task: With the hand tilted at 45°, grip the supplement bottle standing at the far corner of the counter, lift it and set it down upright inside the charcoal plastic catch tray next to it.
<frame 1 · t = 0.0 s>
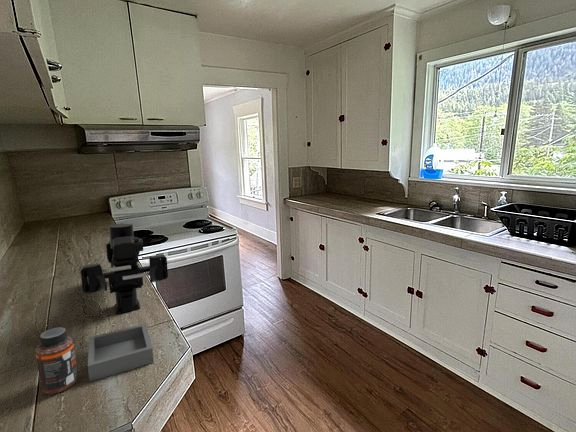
hand: (129, 284, 70), 17 cm above the countertop, tool horizontal, fingers open, 9 cm apart
catch tray: (121, 356, 71), on the countertop
supplement bottle: (60, 385, 62), on the countertop
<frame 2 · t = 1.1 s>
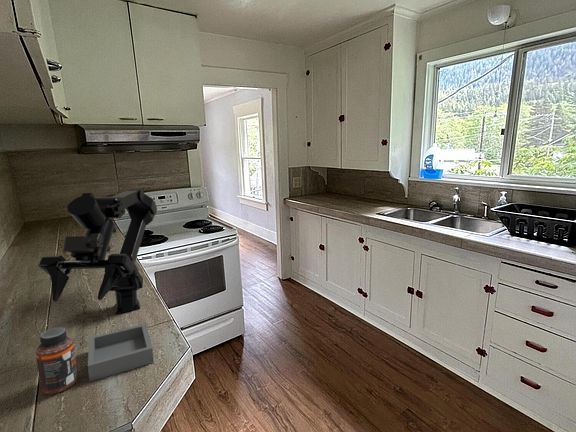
hand: (77, 300, 68), 14 cm above the countertop, tool tilted 45°, fingers open, 9 cm apart
nothing on the countertop moved.
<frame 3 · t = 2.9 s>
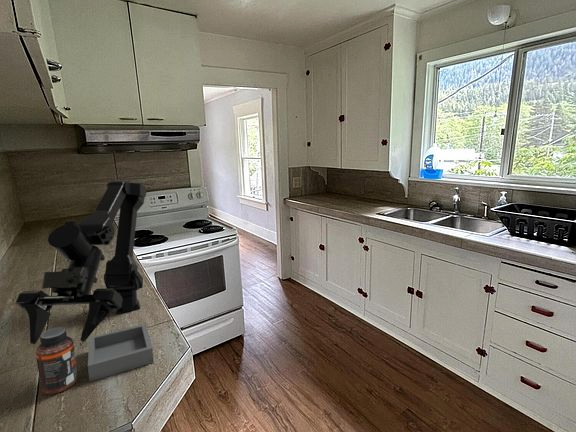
hand: (57, 342, 62), 9 cm above the countertop, tool tilted 45°, fingers open, 9 cm apart
nothing on the countertop moved.
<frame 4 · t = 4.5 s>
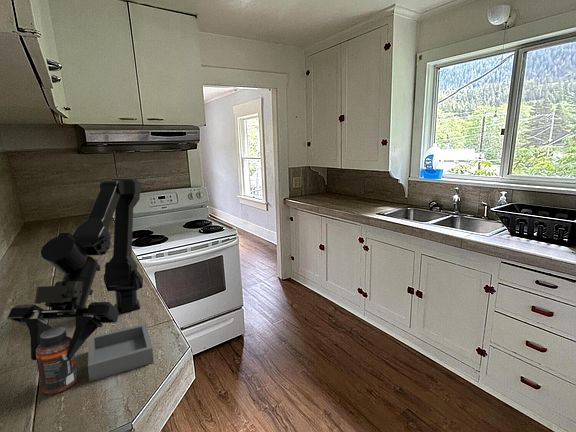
hand: (51, 359, 60), 7 cm above the countertop, tool tilted 45°, fingers closed on supplement bottle, 6 cm apart
supplement bottle: (60, 385, 62), on the countertop, touching gripper
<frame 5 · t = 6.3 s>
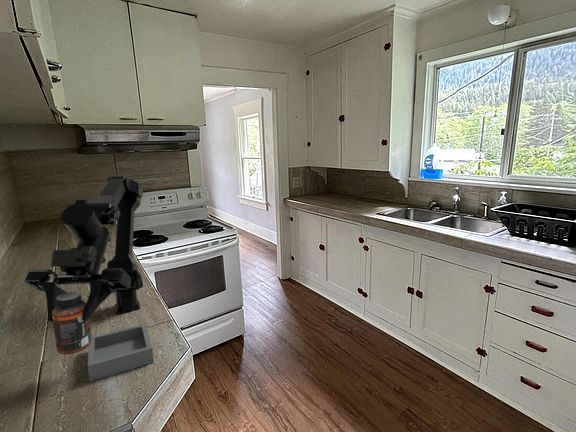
hand: (67, 320, 61), 13 cm above the countertop, tool tilted 45°, fingers closed on supplement bottle, 6 cm apart
supplement bottle: (75, 347, 64), point 6 cm above the countertop, touching gripper
when the fingers open (9 cm above the countertop, at t = 8.4 s): supplement bottle drops 1 cm, resting on catch tray.
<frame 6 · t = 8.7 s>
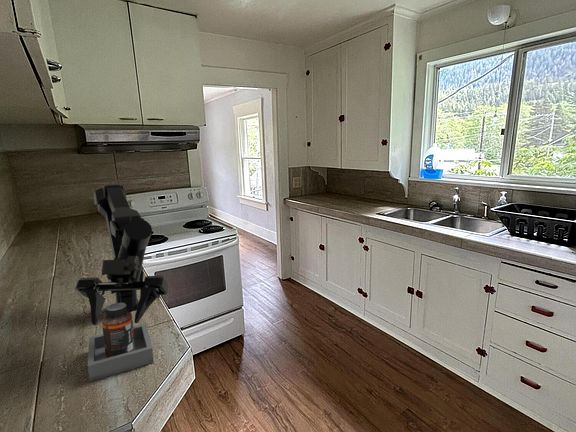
hand: (115, 323, 68), 9 cm above the countertop, tool tilted 45°, fingers open, 8 cm apart
supplement bottle: (120, 353, 71), point 1 cm above the countertop, touching catch tray
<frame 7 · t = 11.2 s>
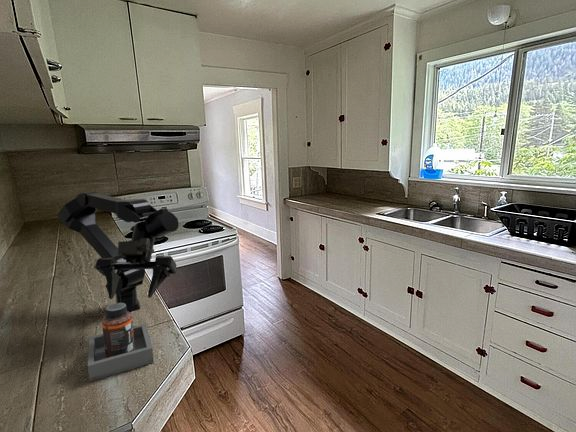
hand: (130, 298, 77), 11 cm above the countertop, tool tilted 45°, fingers open, 9 cm apart
nothing on the countertop moved.
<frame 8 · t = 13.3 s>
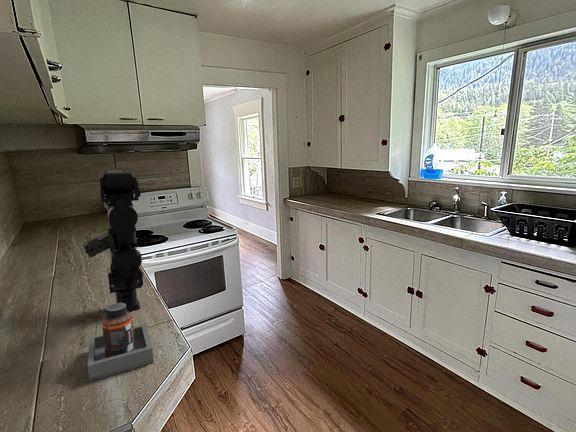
hand: (127, 282, 80), 13 cm above the countertop, tool pointing down, fingers open, 9 cm apart
nothing on the countertop moved.
at the end: supplement bottle 0.2 cm off-centre on the catch tray, point 0.6 cm above the catch tray's base; supplement bottle tilted 0°; the gripper is holding nothing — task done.
